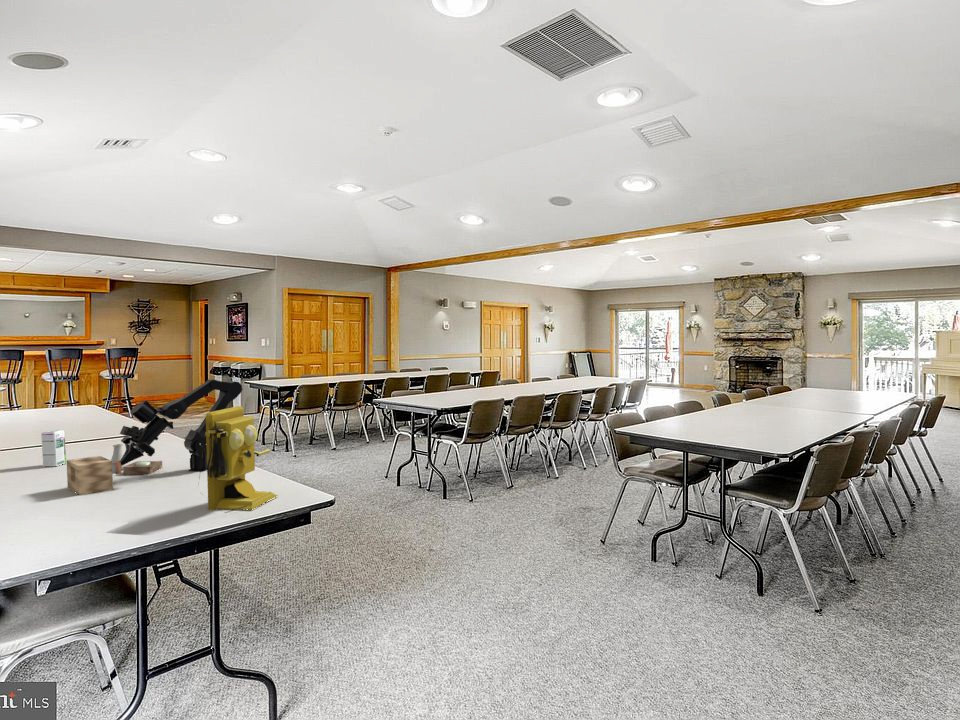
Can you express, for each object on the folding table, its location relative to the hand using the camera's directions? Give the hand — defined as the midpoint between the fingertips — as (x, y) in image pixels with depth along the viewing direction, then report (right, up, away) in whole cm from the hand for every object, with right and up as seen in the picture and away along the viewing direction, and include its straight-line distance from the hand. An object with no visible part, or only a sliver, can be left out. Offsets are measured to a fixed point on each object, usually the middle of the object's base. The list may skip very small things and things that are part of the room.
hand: (120, 464), depth 210 cm
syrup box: (-47, -6, +31) cm, 56 cm away
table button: (-3, -6, +19) cm, 20 cm away
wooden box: (-6, -7, -7) cm, 12 cm away
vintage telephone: (+56, -8, -27) cm, 62 cm away
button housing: (-3, -6, +19) cm, 20 cm away
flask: (-15, -6, +23) cm, 29 cm away
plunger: (-3, -3, -3) cm, 5 cm away
